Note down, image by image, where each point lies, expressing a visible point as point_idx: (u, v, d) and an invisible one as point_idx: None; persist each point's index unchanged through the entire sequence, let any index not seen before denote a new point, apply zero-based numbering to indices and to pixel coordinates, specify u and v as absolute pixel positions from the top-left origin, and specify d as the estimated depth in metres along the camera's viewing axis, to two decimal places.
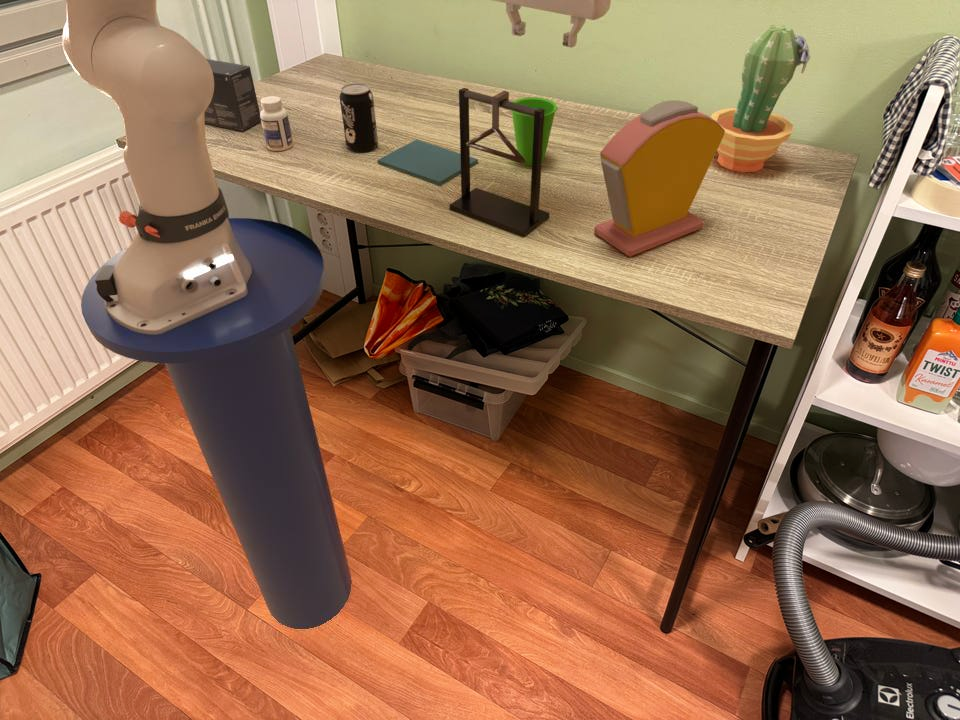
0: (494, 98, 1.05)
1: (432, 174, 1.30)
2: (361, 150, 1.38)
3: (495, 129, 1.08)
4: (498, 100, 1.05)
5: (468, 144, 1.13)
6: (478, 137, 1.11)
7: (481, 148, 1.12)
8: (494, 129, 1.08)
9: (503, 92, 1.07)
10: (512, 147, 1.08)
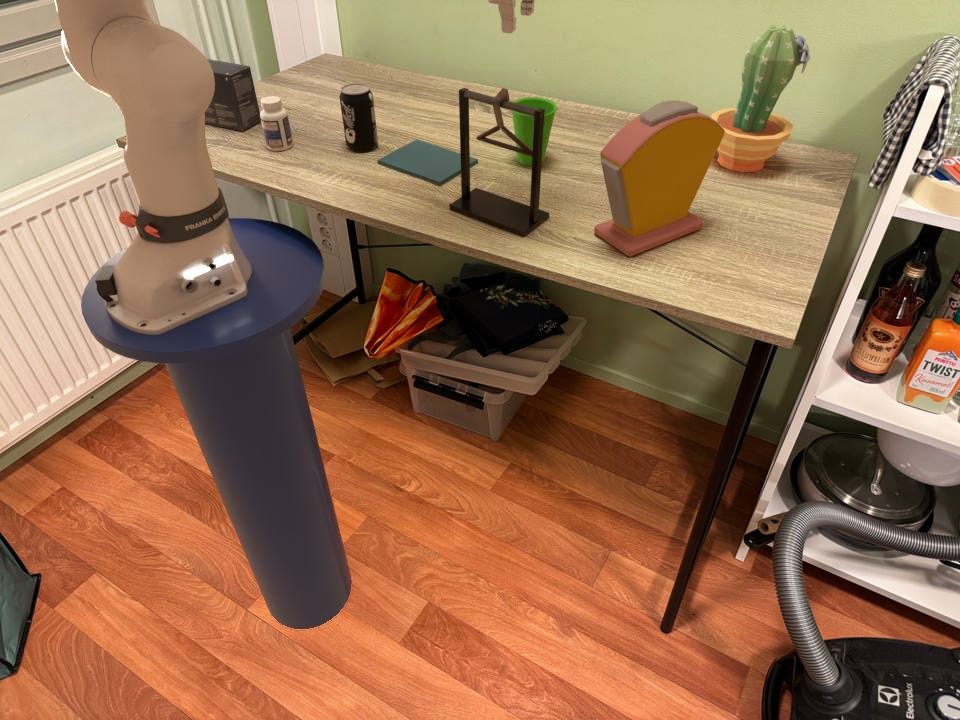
0: (494, 102, 1.06)
1: (432, 174, 1.30)
2: (361, 150, 1.38)
3: (500, 127, 1.09)
4: (498, 103, 1.06)
5: (478, 139, 1.15)
6: (486, 133, 1.13)
7: (491, 142, 1.14)
8: (500, 128, 1.10)
9: (502, 91, 1.06)
10: (520, 143, 1.10)
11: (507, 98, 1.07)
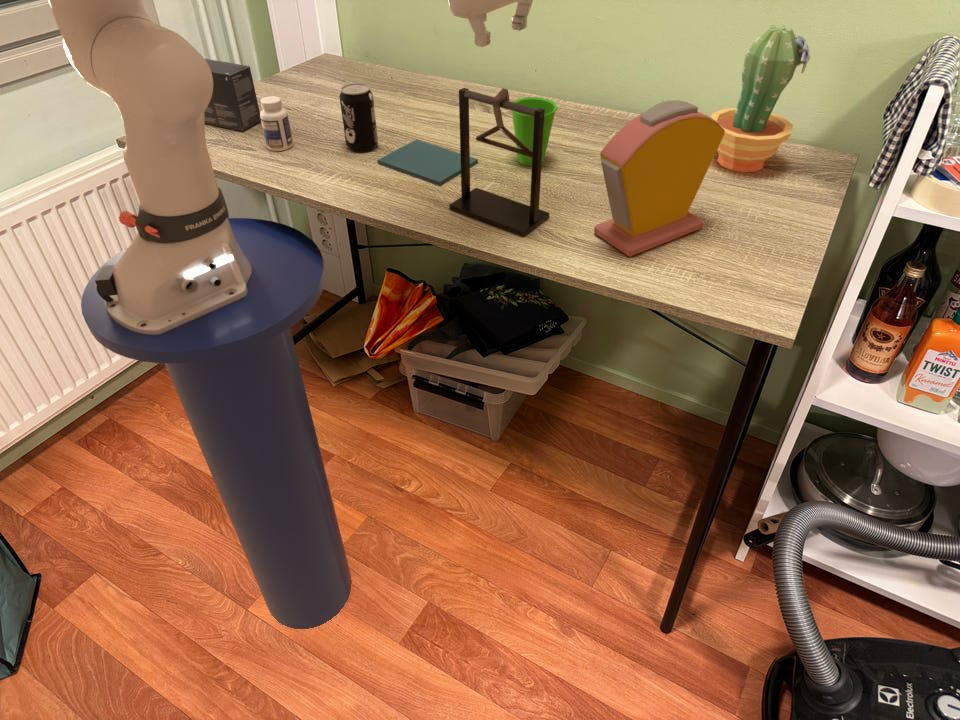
0: (494, 101, 1.06)
1: (432, 174, 1.30)
2: (361, 150, 1.38)
3: (500, 128, 1.09)
4: (498, 102, 1.06)
5: (477, 139, 1.15)
6: (486, 134, 1.13)
7: (490, 143, 1.14)
8: (499, 128, 1.09)
9: (502, 91, 1.06)
10: (519, 143, 1.10)
11: (507, 98, 1.07)
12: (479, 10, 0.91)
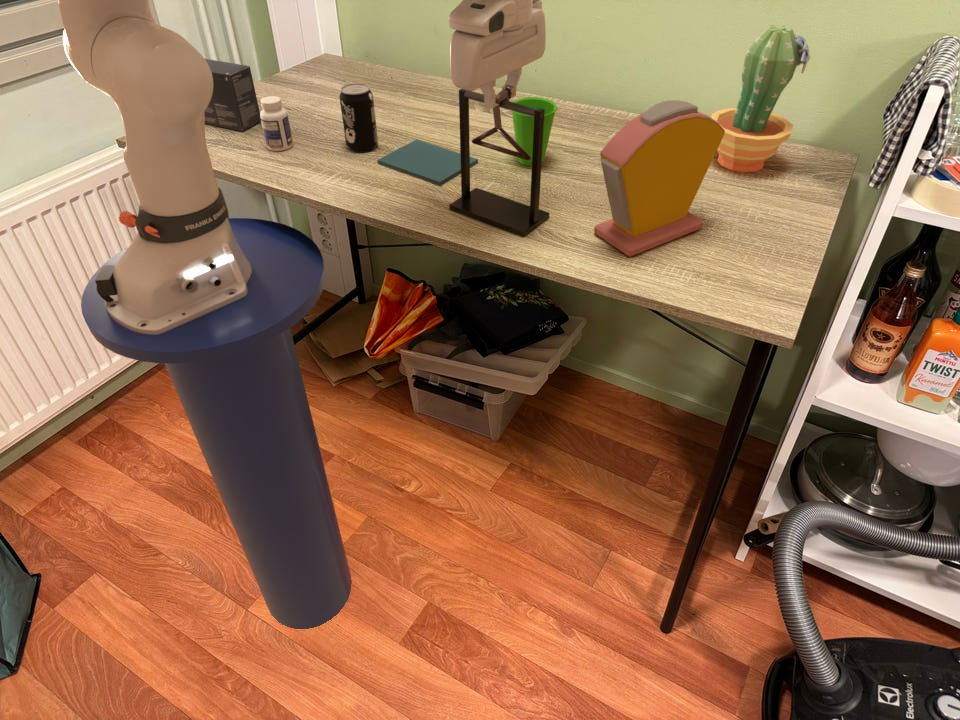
0: None
1: (432, 174, 1.30)
2: (361, 150, 1.38)
3: (498, 129, 1.09)
4: None
5: (474, 142, 1.14)
6: (483, 136, 1.12)
7: (487, 146, 1.13)
8: (497, 129, 1.09)
9: (502, 91, 1.06)
10: (516, 145, 1.09)
11: (507, 99, 1.07)
12: (479, 83, 0.98)
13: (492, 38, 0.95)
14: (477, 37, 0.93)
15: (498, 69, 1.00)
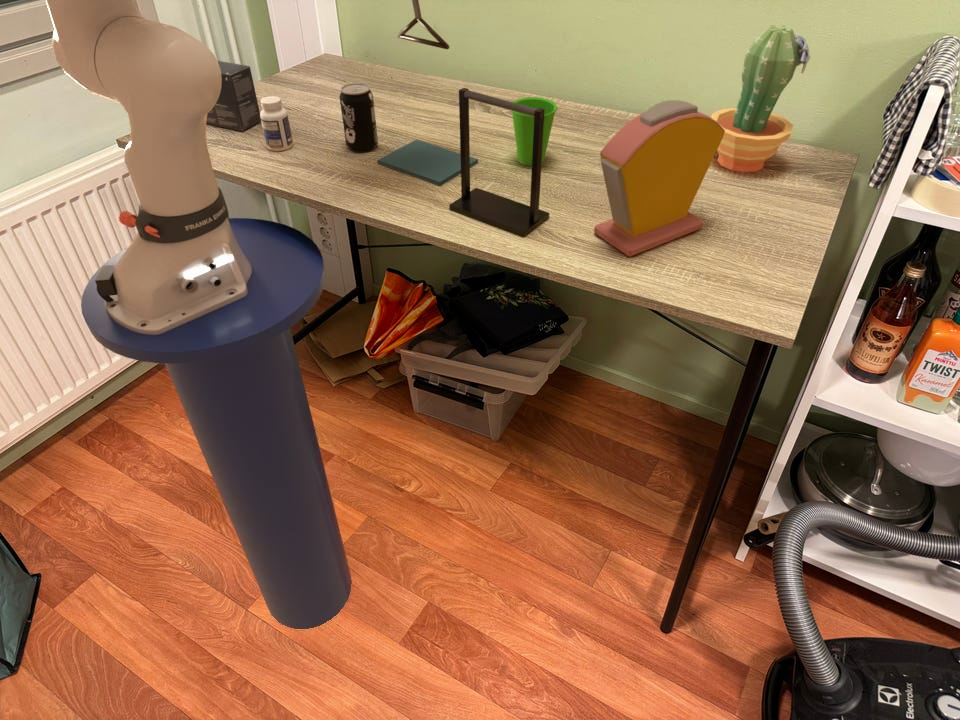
0: None
1: (432, 174, 1.30)
2: (361, 150, 1.38)
3: (418, 18, 1.16)
4: None
5: (399, 36, 1.22)
6: (405, 28, 1.20)
7: (410, 38, 1.21)
8: (417, 19, 1.16)
9: None
10: (435, 34, 1.17)
11: None
12: None
13: None
14: None
15: None
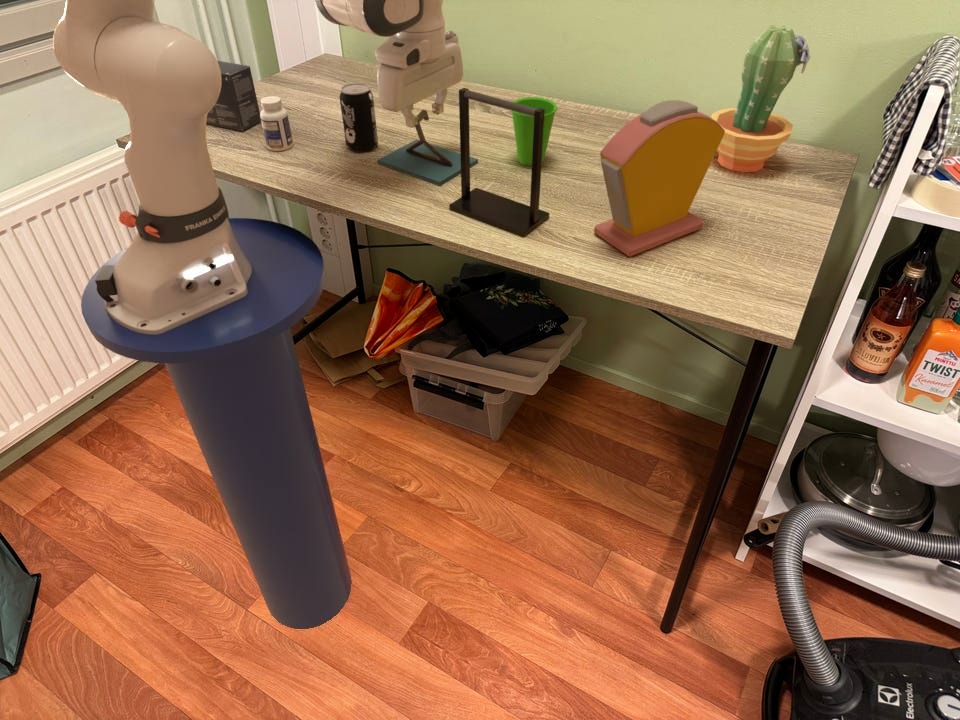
0: None
1: (432, 174, 1.30)
2: (361, 150, 1.38)
3: (422, 142, 1.31)
4: (418, 122, 1.27)
5: (407, 151, 1.37)
6: (412, 146, 1.34)
7: (417, 154, 1.35)
8: (422, 142, 1.31)
9: (422, 112, 1.28)
10: (439, 155, 1.31)
11: (427, 118, 1.29)
12: (402, 105, 1.20)
13: (411, 70, 1.17)
14: (397, 69, 1.16)
15: (420, 94, 1.23)
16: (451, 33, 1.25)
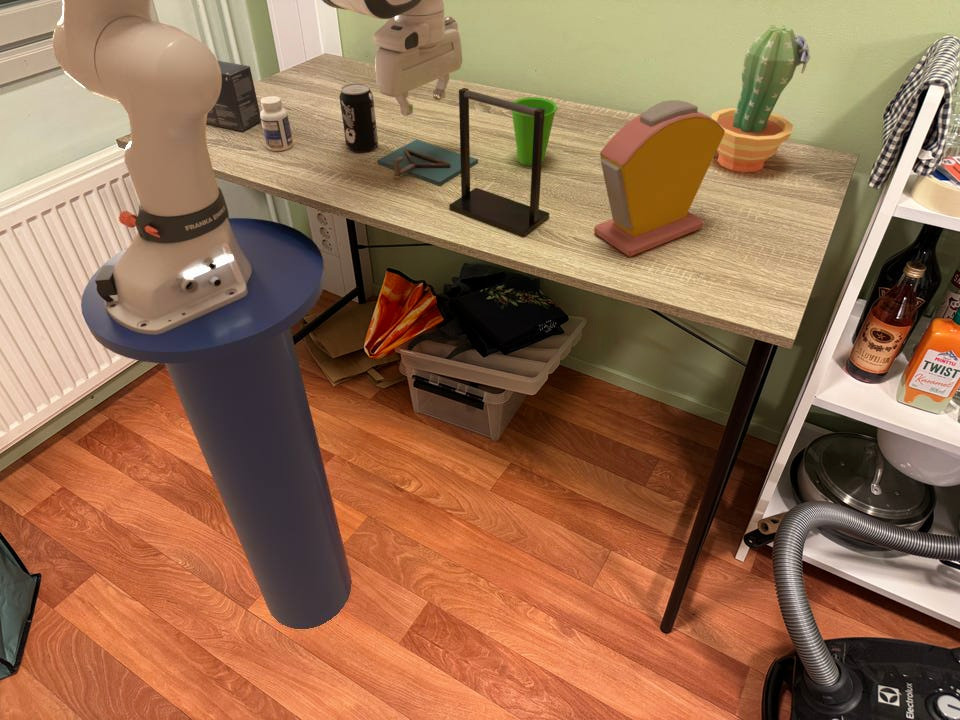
0: None
1: (432, 174, 1.30)
2: (361, 150, 1.38)
3: None
4: (399, 175, 1.29)
5: None
6: None
7: (416, 156, 1.35)
8: None
9: (395, 164, 1.27)
10: None
11: (401, 160, 1.28)
12: (400, 90, 1.18)
13: (409, 54, 1.15)
14: (396, 53, 1.14)
15: (418, 79, 1.21)
16: (450, 19, 1.23)
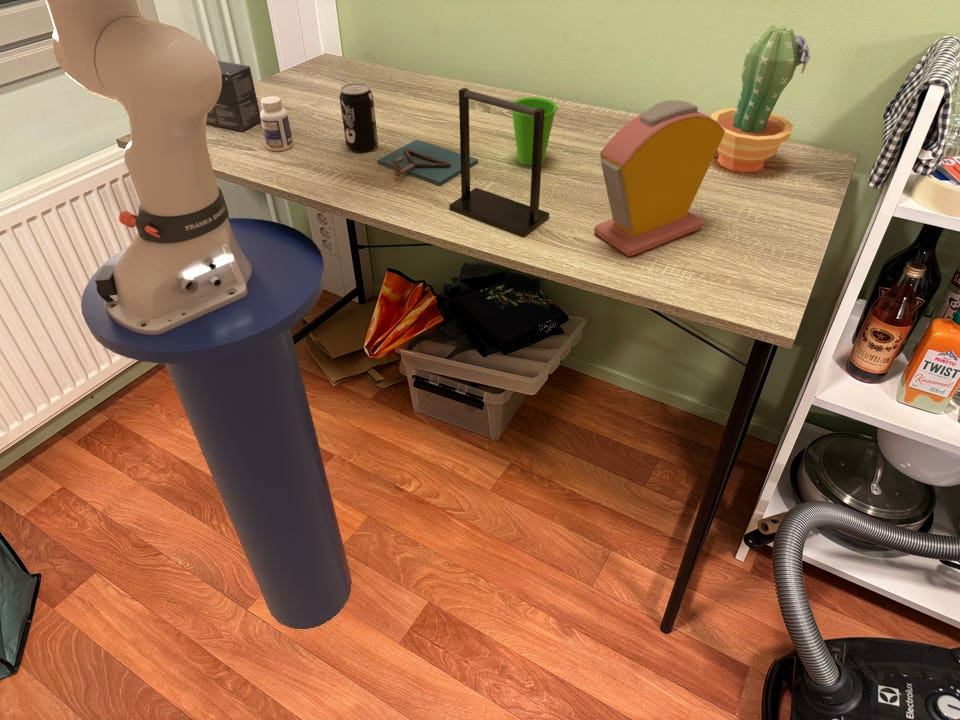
0: None
1: (432, 174, 1.30)
2: (361, 150, 1.38)
3: None
4: (399, 175, 1.29)
5: None
6: None
7: (416, 156, 1.35)
8: None
9: (395, 164, 1.27)
10: None
11: (401, 160, 1.28)
12: None
13: None
14: None
15: None
16: None
